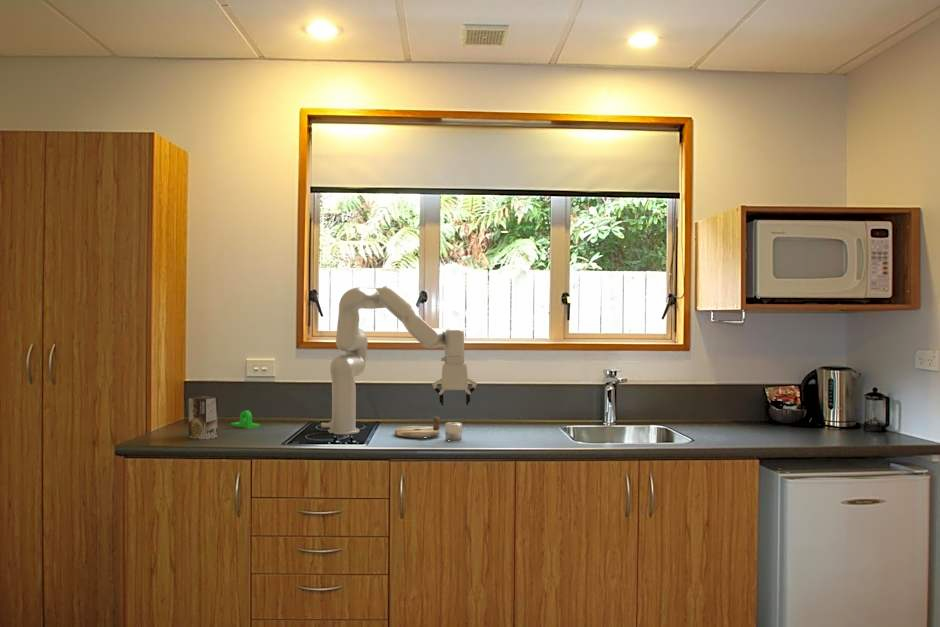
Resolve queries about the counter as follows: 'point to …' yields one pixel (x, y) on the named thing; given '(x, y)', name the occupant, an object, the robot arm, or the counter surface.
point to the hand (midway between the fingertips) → (454, 404)
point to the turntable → (420, 430)
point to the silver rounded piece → (453, 431)
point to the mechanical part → (245, 420)
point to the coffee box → (203, 417)
